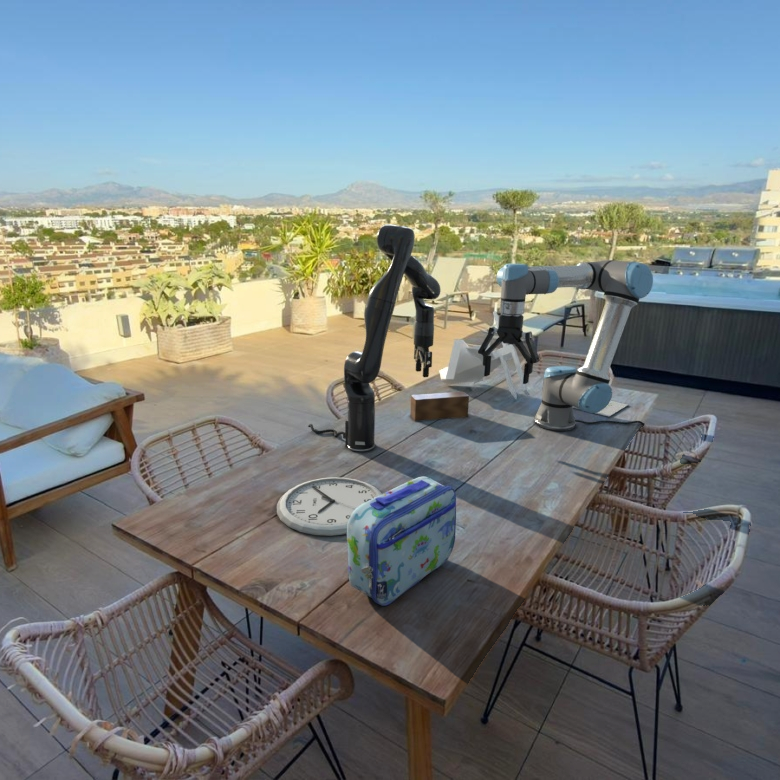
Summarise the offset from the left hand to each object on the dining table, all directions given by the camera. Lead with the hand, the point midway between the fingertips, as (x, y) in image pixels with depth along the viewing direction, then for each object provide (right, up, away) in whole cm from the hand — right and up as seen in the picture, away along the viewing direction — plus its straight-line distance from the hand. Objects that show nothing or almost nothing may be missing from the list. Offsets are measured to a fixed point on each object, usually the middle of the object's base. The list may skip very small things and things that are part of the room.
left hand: (421, 374), depth 204 cm
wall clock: (-28, -38, -61) cm, 77 cm away
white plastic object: (+29, -7, +39) cm, 49 cm away
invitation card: (+79, -14, +22) cm, 83 cm away
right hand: (+25, -3, -34) cm, 42 cm away
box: (+7, -17, +7) cm, 20 cm away
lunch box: (-10, -47, -90) cm, 102 cm away
